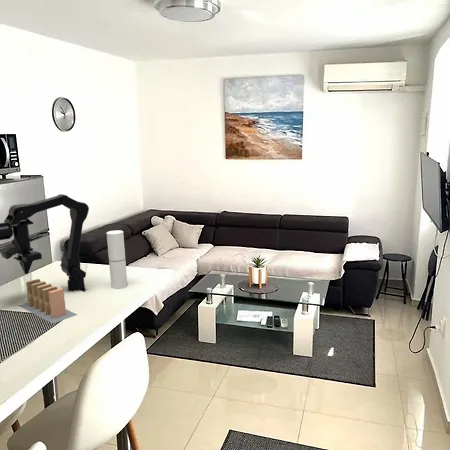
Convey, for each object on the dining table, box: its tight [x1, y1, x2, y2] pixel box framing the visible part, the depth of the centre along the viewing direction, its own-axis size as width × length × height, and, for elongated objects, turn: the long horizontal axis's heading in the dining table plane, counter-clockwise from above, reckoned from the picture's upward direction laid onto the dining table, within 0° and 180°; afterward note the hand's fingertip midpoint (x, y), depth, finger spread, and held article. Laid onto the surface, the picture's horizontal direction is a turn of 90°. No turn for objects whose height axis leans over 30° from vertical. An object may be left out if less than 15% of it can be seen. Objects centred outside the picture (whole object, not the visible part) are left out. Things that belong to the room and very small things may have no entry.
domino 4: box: [42, 285, 58, 315], centre depth 167 cm, size 2×5×10 cm, turn 139°
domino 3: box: [37, 283, 52, 312], centre depth 170 cm, size 2×5×10 cm, turn 139°
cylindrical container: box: [106, 229, 128, 290], centre depth 195 cm, size 7×7×25 cm
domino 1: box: [25, 278, 42, 307], centre depth 176 cm, size 2×5×10 cm, turn 139°
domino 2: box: [31, 280, 47, 310], centre depth 173 cm, size 2×5×10 cm, turn 139°
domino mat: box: [18, 301, 78, 324], centre depth 171 cm, size 28×10×1 cm, turn 49°
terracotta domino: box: [48, 287, 67, 318], centre depth 164 cm, size 2×5×10 cm, turn 138°
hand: (26, 273), depth 178 cm, fingers closed
